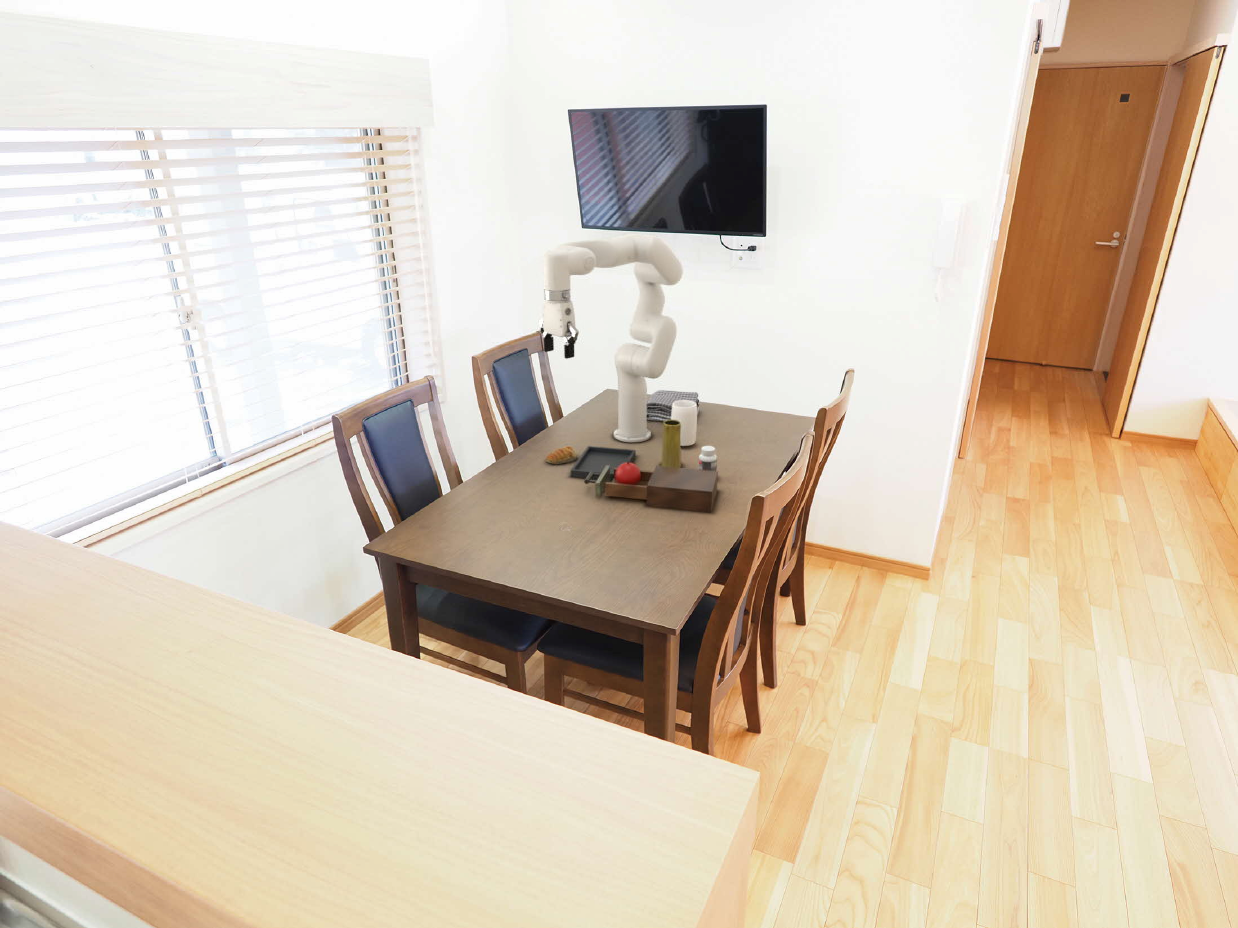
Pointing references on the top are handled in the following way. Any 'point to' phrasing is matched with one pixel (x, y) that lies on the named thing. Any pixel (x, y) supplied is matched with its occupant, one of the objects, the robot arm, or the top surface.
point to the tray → (601, 461)
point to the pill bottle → (707, 459)
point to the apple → (628, 474)
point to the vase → (671, 444)
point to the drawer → (619, 485)
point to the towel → (667, 403)
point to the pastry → (562, 455)
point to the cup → (686, 420)
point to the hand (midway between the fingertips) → (559, 354)
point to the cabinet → (682, 489)
